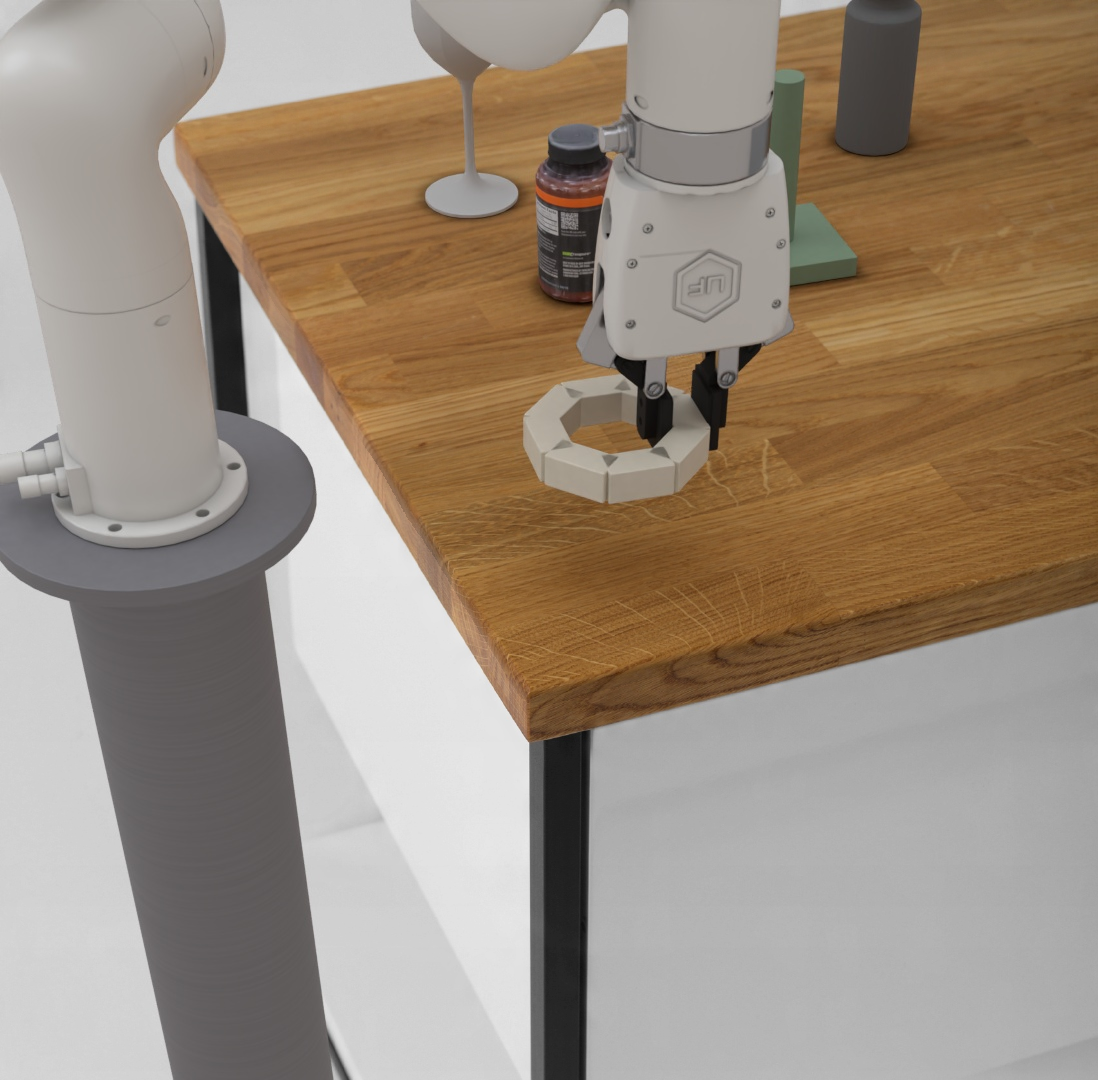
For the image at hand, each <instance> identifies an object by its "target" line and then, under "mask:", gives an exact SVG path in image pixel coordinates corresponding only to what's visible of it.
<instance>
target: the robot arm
mask: <svg viewBox="0 0 1098 1080" xmlns="http://www.w3.org/2000/svg"><path fill="white" fill-rule="evenodd" d="M416 1H417V2H418V3H419V5H420V6H421V7H422V8H423V9H424V10H425V11H426V12H427V13H428V14H429V15H430V16H431V17H432V18H433V19H434V20H435V21H436V22H437V23H438V24H439V25H440V26H441V27H442V28H443V29H444V30H445V31H446V32H447V33H448V34H449V35H450V36H451V37H452V38H454V39H455V40H456V41H457V42H458V43H460V44H461V45H462V46H464V47H465V48H466V49H468V50H469V51H471V52H472V53H473V54H475V55H476V56H478V57H479V58H481V59H483V60H485V61H487V62H489V63H491V65H493V66H496V67H499V68H502V69H506V70H509V71H516V72H533V71H539V70H543V69H547V68H549V67H551V66H554V65H556V64H559V63H560V62H562V61H563V60H565V59H566V58H568V57H569V56H571V55H572V54H573V53H574V52H575V51H576V50H577V49H578V48H579V47H580V46H581V44H582V43H583V42H584V41H585V39H587V37H588V36H589V35H590V34H591V32H592V31H593V30H594V28H595V27H596V25H597V24H598V22H599V21H600V19H601V18H602V17H603V15H605V14H607V13H608V12H611V11H613V10H622V11H623V12H624V13H625V14H626V15H627V20H628V21H627V44H626V45H627V47H626V75H625V76H626V80H625V101H621V113H620V115H619V118H618V120H615V121H612V123H611V124H603V125H599V126H598V128H599V130H598V141H599V147H600V150H601V152H602V153H606V154H607V153H613V152H614V153H615V154H616V155H615V156H614V157H613V159H612V161H613V163H612V166H611V170H610V173H609V177H608V182H607V186H606V190H605V194H604V199H603V204H602V210H601V215H600V222H599V228H598V235H597V244H596V253H595V264H594V276H593V301H592V308H591V310H590V312H589V315H588V316H587V319H586V321H585V322H584V326H583V327H582V329H581V332H580V333H579V336H578V338H577V340H576V343H575V349H576V350H577V352H578V354H579V356H580V358H581V359H582V361H583V362H584V363H586V364H588V365H589V364H590V365H592V366H593V365H594V366H598V367H601V368H605V369H609V370H610V369H613V370H615V371H616V370H617V371H618V374H622V375H623V376H624V377H626V378H627V379H628V380H629V381H631V382H632V383H633V384H634V385H636V386H637V387H638V389H637V414H636V425H637V426H636V425H635V426H636V431H637V433H638V435H639V438H640V439H641V440H643V441H644V440H647V442H648V444H649V446H650V448H653V447H654V446H655V445H656V444H657V443H658V442H659V441H660V440H661V439H662V438H663V437H664V436H665V435H666V434H667V433H668V432H669V431H670V430H671V429H672V424H673V405H674V402H673V398H672V396H671V394H670V392H669V391H668V389H667V386H668V382H667V372H668V360H669V359H668V358H674V357H681V356H687V355H696V354H701V358H702V360H701V362H700V363H695V364H694V369H692V372H691V387H690V395H691V398H692V400H693V401H694V403H695V404H696V406H697V408H698V409H699V411H700V412H701V414H702V416H703V417H704V419H705V421H706V422H707V423H708V424H709V426H710V440H709V452H713V451H717V450H718V448H719V439H720V429H723V428H725V427H726V424H727V417H728V416H727V414H728V402H729V401H728V400H729V389H730V388H732V387H734V386H735V385H736V384H737V382H738V379H739V373H740V372H741V371H742V370H743V369H744V368H745V367H746V366H747V365H748V364H749V363H750V361H752V360H753V359H754V358H755V356H757V354H759V353H760V351H761V350H762V348H763V347H768V346H770V345H771V344H774V343H775V342H777V341H779V340H781V339H782V338H785V337H786V336H788V335H790V334H791V333H792V332H793V331H794V330H795V321H794V319H793V316H792V313H791V311H790V308H789V304H790V287H791V286H790V239H789V215H788V198H787V187H786V179H785V171H784V166H783V162H782V160H781V159H780V158H779V157H778V156H777V155H776V154H775V153H774V152H773V151H772V150H771V149H770V148H769V145H770V133H771V121H772V106H773V96H774V83H775V71H777V70H776V69H777V59H778V58H777V57H778V45H779V43H778V42H779V32H780V22H781V21H780V19H781V7H782V0H416ZM226 33H227V32H226V23H225V18H224V13H223V8H222V3H221V0H42V1H40V2H39V3H38V4H36V5H35V6H34V7H33V8H32V9H30V10H28V12H27V13H25V14H24V15H23V16H22V17H20V18H19V19H18V20H17V21H16V22H14V23H13V25H12V26H11V27H10V28H8V30H6V32H5V33H4V34H3V35H2V37H1V38H0V175H1V177H2V180H3V182H4V185H5V187H6V190H7V193H8V196H9V198H10V202H11V205H12V208H13V211H14V214H15V219H16V221H17V226H18V229H19V232H20V236H21V241H22V246H23V250H24V253H25V259H26V264H27V267H28V272H29V278H30V282H31V287H32V290H33V295H34V299H35V303H36V308H37V313H38V318H39V324H40V328H41V334H42V338H43V342H44V348H45V352H46V358H47V363H48V368H49V372H50V377H51V382H52V386H53V391H54V397H55V401H56V407H57V410H58V411H57V412H58V416H59V420H60V421H59V422H60V423H59V424H57V425H56V431H57V432H58V436H59V440H58V441H55V442H49V443H44V447H45V449H39V450H33V451H27V452H25V451H22V450H20V451H14V452H6V453H2V454H0V485H6V484H12V483H18V484H19V489H20V494H21V498H22V499H27V498H34V497H40V496H42V495H46V494H51V499H52V503H53V507H54V511H55V515H56V516H57V518H58V519H59V521H60V522H61V524H62V525H63V526H64V527H65V528H67V529H68V530H69V531H70V532H71V533H73V534H75V535H77V536H79V537H81V538H83V539H85V540H88V541H91V542H94V543H97V544H100V545H105V546H111V547H116V548H132V549H140V548H155V547H161V546H167V545H173V544H177V543H180V542H184V541H187V540H191V539H194V538H196V537H198V536H201V535H203V534H206V533H208V532H210V531H211V530H213V529H215V528H217V527H218V526H220V525H222V524H223V523H224V522H225V521H227V520H228V519H229V518H230V517H232V516H233V515H234V514H235V513H236V511H237V510H238V509H239V508H240V507H241V505H242V504H243V502H244V500H245V498H246V496H247V493H248V485H249V482H248V475H247V468H246V465H245V463H244V460H243V458H242V457H241V456H240V454H239V453H238V452H237V451H236V450H235V449H234V448H232V447H231V446H230V445H228V444H227V443H226V442H224V441H222V440H219V439H218V436H217V429H216V422H215V415H214V402H213V396H212V389H211V382H210V373H209V369H208V362H207V354H206V348H205V347H206V346H205V341H204V335H203V327H202V319H201V314H200V305H199V300H198V293H197V287H196V286H197V285H196V280H195V273H194V266H193V261H192V254H191V253H192V252H191V247H190V241H189V236H188V230H187V227H186V223H185V220H184V216H183V213H182V209H181V208H180V205H179V203H178V201H177V199H176V198H175V196H174V193H173V192H172V190H171V188H170V186H169V184H168V182H167V180H166V179H165V176H164V175H163V172H162V169H161V166H160V161H159V149H160V144H161V142H162V141H163V140H164V139H165V137H166V136H167V135H168V134H169V133H170V132H171V131H172V130H173V129H174V128H175V126H176V125H177V124H178V123H179V122H180V121H181V120H182V118H184V117H185V116H186V115H187V114H188V113H189V112H190V111H191V110H192V109H193V108H194V107H195V106H196V105H197V103H198V102H199V101H200V100H201V99H202V98H203V97H204V96H205V95H206V94H207V93H208V91H209V90H210V89H211V87H212V86H213V84H214V83H215V82H216V80H217V78H218V76H219V74H220V72H221V69H222V66H223V63H224V60H225V59H224V58H225V54H226V47H227V37H226V35H227V34H226Z"/></svg>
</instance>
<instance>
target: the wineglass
mask: <svg viewBox="0 0 1098 1080" xmlns="http://www.w3.org/2000/svg"><path fill="white" fill-rule="evenodd" d="M410 12H411V13H410V15H411V22H412V27H413V32H414V34H415V36H416V38H417V41H418V43H419V45H420V47H421V48H422V50H423V51H424V52H425V53H426V54H427V55H428V57H430V59H431V60H432V61H433V62H435V63H436V64H437V65H438V66H440V67H441V68H442V69H444V71H446V72H447V73H448V74H450V75H451V76H453V77H454V78H456V80H457V82H458V84H459V86H460V90H461V95H462V114H463V135H464V136H463V137H464V139H463V140H464V158H465V159H464V160H465V163H464V164H465V165H464V173H463V172H462V173H456V174H452V175H447V176H445V177H443V178H440V179H438V180H436V181H434V182H433V183H431V184H430V185H429V186H428V187H427V189H426V191H425V193H424V197H425V199H424V200H425V203H426V204H427V206H428V207H429V208H430V209H431V210H432V211H433V212H437V213H438V214H440V215H444V216H448V217H451V218H457V219H478V218H479V219H480V218H487V217H492V216H496V215H498V214H502V213H504V212H506V211H507V210H509V209H511V208H512V207H513V206H514V205H515V204H516V203H517V202H518V199H519V189H518V187H517V186H516V184H515V183H514V182H512V181H511V180H510V179H507V178H505V177H503V176H501V175H496V174H493V173H485V172H478V171H477V167H476V155H475V153H476V152H475V131H474V129H475V128H474V108H473V92H474V84H475V82H476V80H477V78H478V77H479V76H481V74H483V73H484V72H485V71H487V69H488V68H489V67H490V66H491V65H492V64H491V63H489V62H487V61H485V60H483V59H481V58H479V57H478V56H476V55H475V54H473V53H472V52H471V51H469V50H468V49H466V48H465V47H464V46H462V45H461V44H460V43H458V42H457V41H456V40H455V39H454V38H452V37H451V36H450V35H449V34H448V33H447V32H446V31H445V30H444V29H443V28H442V27H441V26H440V25H439V24H438V23H437V22H436V21H435V20H434V19H433V18H432V17H431V16H430V15H429V14H428V13H427V12H426V11H425V10H424V9H423V8H422V7H421V6H420V5H419V3H418V2H417V1H416V0H410Z"/></svg>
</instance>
